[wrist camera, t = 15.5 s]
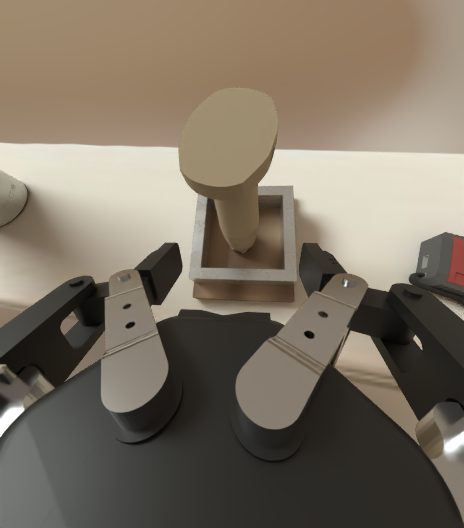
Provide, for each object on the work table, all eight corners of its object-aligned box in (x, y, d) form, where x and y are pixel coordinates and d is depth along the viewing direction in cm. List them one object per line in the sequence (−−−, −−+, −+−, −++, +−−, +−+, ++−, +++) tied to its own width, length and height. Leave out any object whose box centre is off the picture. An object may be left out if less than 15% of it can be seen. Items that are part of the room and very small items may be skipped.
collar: (196, 282, 23) (188, 278, 20) (204, 201, 26) (198, 187, 23) (291, 285, 22) (297, 281, 19) (288, 200, 25) (293, 185, 22)
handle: (266, 224, 24) (289, 93, 10) (253, 271, 23) (256, 195, 8) (231, 216, 25) (205, 83, 11) (216, 260, 24) (161, 175, 9)
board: (196, 298, 24) (192, 297, 23) (205, 197, 28) (203, 190, 27) (291, 302, 23) (294, 301, 21) (287, 195, 27) (290, 188, 25)
